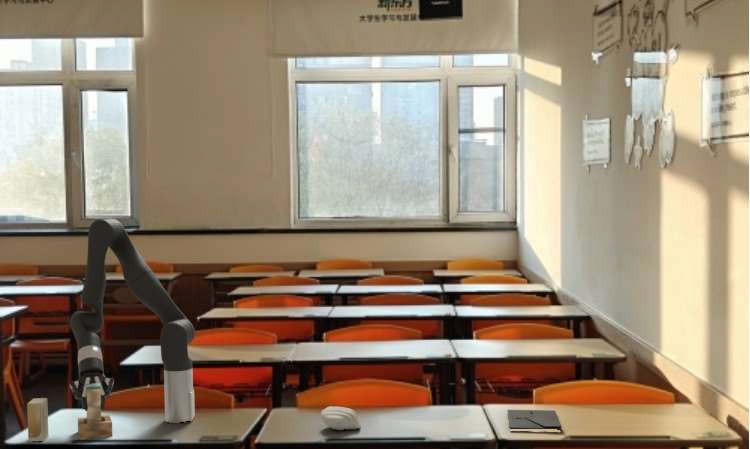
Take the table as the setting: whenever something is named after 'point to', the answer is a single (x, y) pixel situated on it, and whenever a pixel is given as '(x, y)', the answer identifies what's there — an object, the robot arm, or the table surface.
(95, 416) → the peg
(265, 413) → the table surface
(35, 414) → the skincare box
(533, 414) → the picture frame
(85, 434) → the socket block
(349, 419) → the shell shaped sculpture
